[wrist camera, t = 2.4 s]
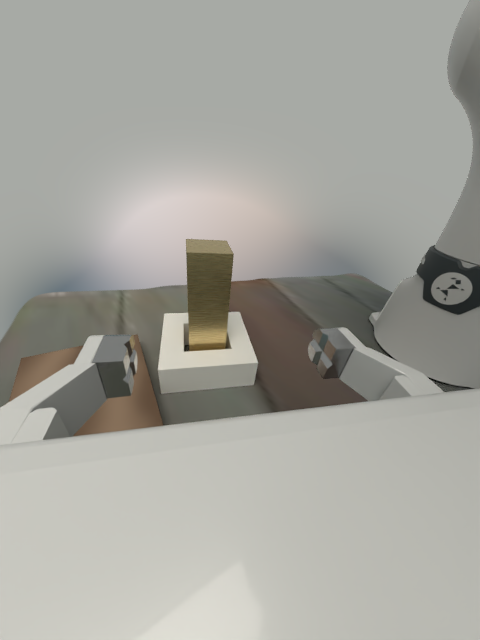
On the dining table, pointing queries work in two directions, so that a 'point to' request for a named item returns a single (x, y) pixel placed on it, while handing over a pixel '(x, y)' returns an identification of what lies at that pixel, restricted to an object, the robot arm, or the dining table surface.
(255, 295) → the dining table surface
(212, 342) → the peg
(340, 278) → the dining table surface
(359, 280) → the dining table surface
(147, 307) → the dining table surface
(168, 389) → the socket block
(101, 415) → the board
